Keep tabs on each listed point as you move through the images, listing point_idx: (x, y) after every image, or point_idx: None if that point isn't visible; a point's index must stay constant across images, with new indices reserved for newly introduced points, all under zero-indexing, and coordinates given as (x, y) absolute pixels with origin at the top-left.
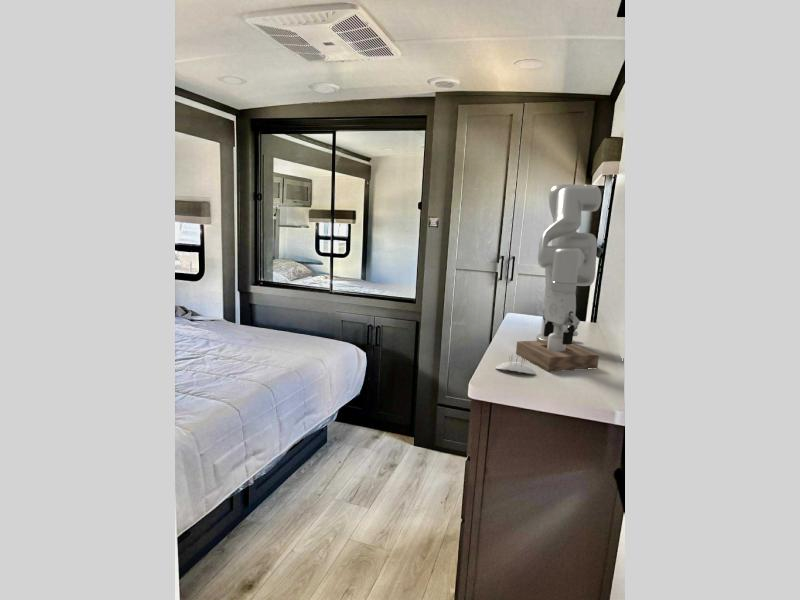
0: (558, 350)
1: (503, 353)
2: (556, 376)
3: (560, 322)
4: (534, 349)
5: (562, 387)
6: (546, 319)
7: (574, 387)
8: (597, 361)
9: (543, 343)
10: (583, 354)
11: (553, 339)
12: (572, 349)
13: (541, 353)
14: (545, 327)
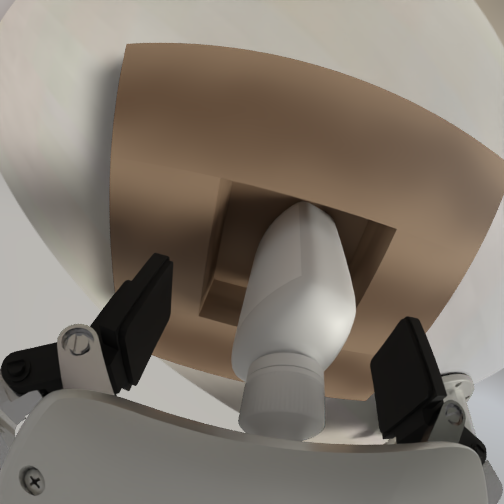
0: (258, 261)
1: (498, 108)
2: (113, 57)
3: (64, 413)
4: (333, 78)
5: (45, 21)
6: (440, 446)
7: (32, 61)
8: None
9: (400, 287)
10: None
11: (282, 279)
12: (221, 328)
13: (222, 47)
14: (430, 374)
